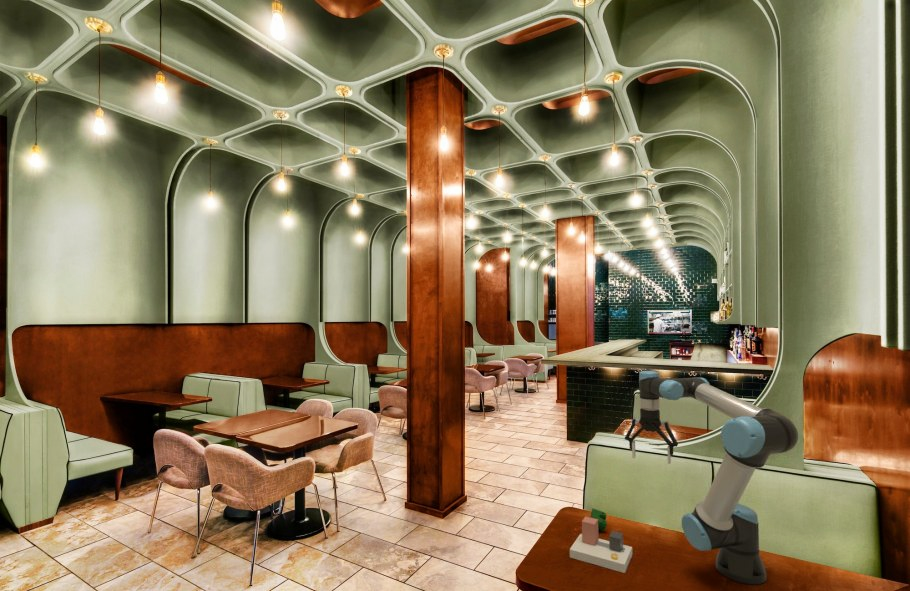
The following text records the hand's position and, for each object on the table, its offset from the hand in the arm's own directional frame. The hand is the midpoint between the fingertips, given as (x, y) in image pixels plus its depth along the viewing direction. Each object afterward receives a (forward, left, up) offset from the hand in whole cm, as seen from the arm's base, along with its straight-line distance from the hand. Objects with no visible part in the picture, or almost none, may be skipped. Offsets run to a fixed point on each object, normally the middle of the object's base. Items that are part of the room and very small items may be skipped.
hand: (651, 460), depth 183 cm
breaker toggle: (+10, +22, -28) cm, 37 cm away
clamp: (+22, +2, -32) cm, 39 cm away
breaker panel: (+15, +25, -32) cm, 43 cm away
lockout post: (+20, +22, -29) cm, 41 cm away
